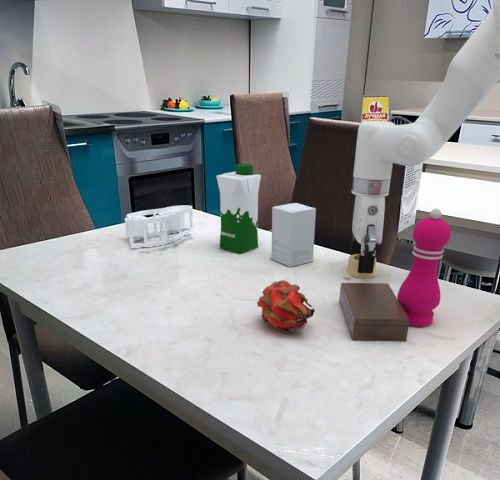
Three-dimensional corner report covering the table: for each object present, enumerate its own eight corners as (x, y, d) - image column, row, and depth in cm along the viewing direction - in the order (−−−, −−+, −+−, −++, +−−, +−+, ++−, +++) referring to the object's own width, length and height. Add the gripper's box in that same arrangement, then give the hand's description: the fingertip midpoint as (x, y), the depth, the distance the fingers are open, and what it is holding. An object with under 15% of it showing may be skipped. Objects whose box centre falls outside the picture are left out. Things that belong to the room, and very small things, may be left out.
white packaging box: (313, 261, 119) (317, 208, 113) (289, 267, 115) (291, 212, 109) (294, 253, 124) (296, 201, 119) (269, 258, 121) (271, 205, 115)
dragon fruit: (268, 317, 95) (302, 353, 87) (237, 301, 89) (271, 338, 81) (295, 281, 93) (333, 314, 85) (266, 262, 88) (303, 296, 79)
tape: (371, 268, 115) (373, 253, 113) (377, 278, 110) (379, 262, 108) (345, 268, 115) (346, 253, 114) (349, 277, 110) (351, 262, 108)
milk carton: (263, 247, 129) (265, 165, 119) (239, 255, 122) (239, 170, 113) (237, 240, 134) (237, 161, 124) (213, 248, 127) (211, 166, 118)
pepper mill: (406, 307, 96) (427, 201, 87) (442, 320, 91) (467, 210, 82) (385, 318, 91) (405, 207, 82) (422, 332, 87) (447, 216, 78)
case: (387, 302, 98) (389, 283, 96) (408, 341, 84) (412, 319, 82) (338, 301, 98) (340, 282, 97) (351, 340, 84) (354, 318, 82)
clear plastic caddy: (184, 228, 144) (182, 202, 140) (204, 237, 136) (203, 210, 132) (117, 240, 133) (114, 212, 130) (134, 250, 125) (131, 221, 122)
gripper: (399, 195, 96) (386, 279, 104) (380, 178, 111) (370, 252, 119) (359, 195, 96) (350, 279, 104) (346, 177, 112) (338, 252, 119)
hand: (361, 265), depth 112 cm, fingers open, 9 cm apart
